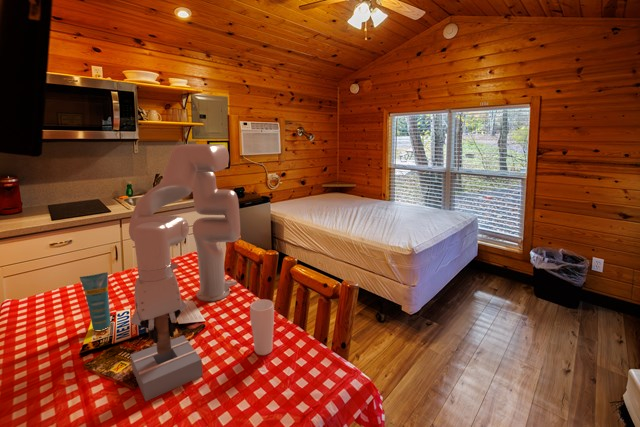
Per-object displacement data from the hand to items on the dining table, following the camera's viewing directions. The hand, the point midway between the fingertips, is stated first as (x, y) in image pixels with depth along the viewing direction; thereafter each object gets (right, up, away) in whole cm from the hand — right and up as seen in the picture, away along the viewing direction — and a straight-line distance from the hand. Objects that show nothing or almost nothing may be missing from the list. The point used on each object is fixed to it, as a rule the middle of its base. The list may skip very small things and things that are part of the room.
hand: (162, 337), depth 88 cm
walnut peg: (0, -4, +1) cm, 4 cm away
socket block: (0, -11, +3) cm, 11 cm away
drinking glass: (+24, -9, +12) cm, 29 cm away
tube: (-31, -6, +23) cm, 39 cm away
